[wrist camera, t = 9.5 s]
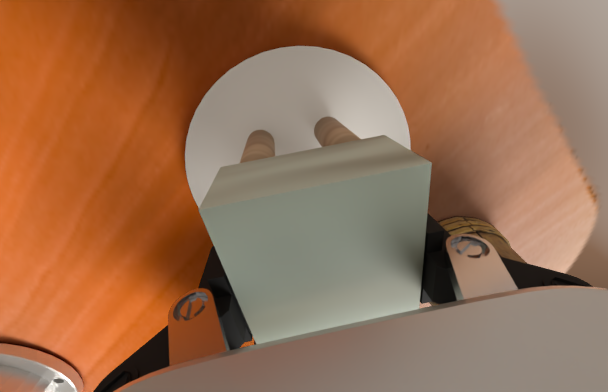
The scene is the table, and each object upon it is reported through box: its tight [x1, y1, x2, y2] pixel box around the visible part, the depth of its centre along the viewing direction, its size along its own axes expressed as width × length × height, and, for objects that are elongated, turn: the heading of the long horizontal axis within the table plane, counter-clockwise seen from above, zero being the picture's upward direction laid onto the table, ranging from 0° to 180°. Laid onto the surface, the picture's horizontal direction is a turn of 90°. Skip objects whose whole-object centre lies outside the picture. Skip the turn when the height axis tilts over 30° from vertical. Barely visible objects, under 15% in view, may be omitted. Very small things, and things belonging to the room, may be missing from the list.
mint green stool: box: [199, 116, 432, 344], centre depth 12 cm, size 8×6×9 cm
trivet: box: [185, 46, 411, 208], centre depth 17 cm, size 15×15×1 cm
